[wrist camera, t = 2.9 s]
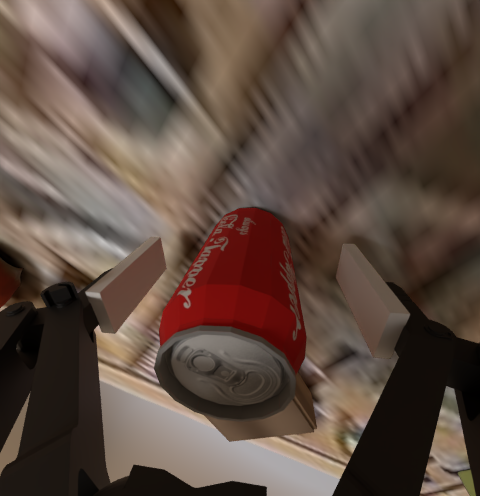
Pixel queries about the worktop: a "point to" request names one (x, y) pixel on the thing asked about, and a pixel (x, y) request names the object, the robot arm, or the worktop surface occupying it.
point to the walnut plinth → (275, 419)
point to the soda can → (235, 323)
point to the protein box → (467, 481)
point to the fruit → (8, 281)
